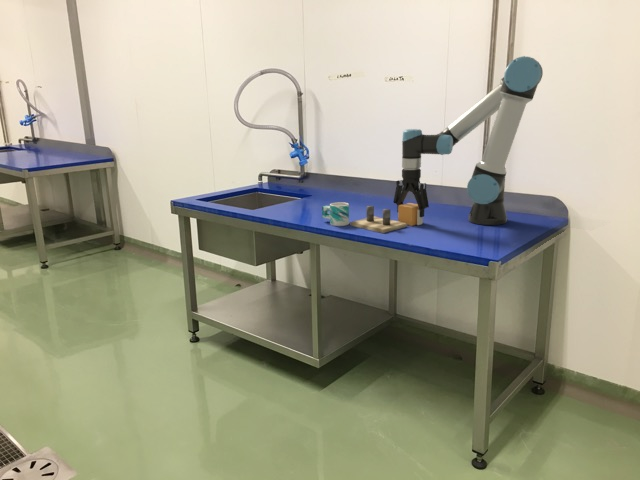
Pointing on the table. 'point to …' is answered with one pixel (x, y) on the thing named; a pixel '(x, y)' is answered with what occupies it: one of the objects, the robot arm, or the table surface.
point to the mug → (337, 213)
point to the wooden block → (408, 213)
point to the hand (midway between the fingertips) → (410, 222)
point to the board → (378, 222)
